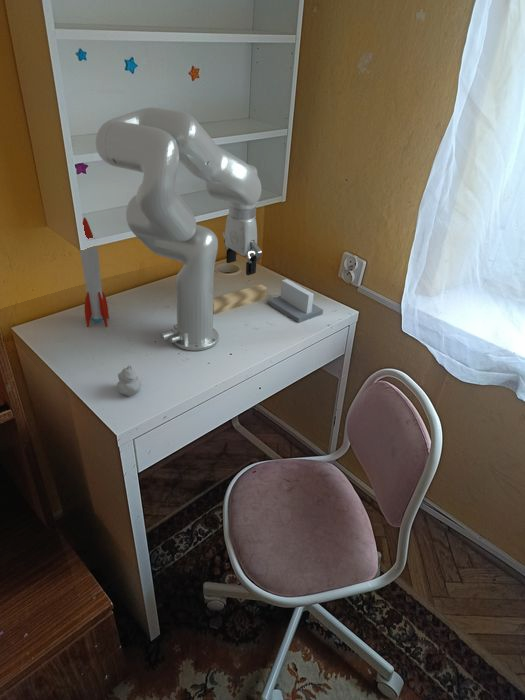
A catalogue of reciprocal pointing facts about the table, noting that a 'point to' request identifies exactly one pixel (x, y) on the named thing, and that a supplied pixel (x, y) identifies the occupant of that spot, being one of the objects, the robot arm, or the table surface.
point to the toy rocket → (93, 283)
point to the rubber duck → (128, 381)
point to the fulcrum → (295, 302)
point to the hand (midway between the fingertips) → (240, 267)
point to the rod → (239, 298)
